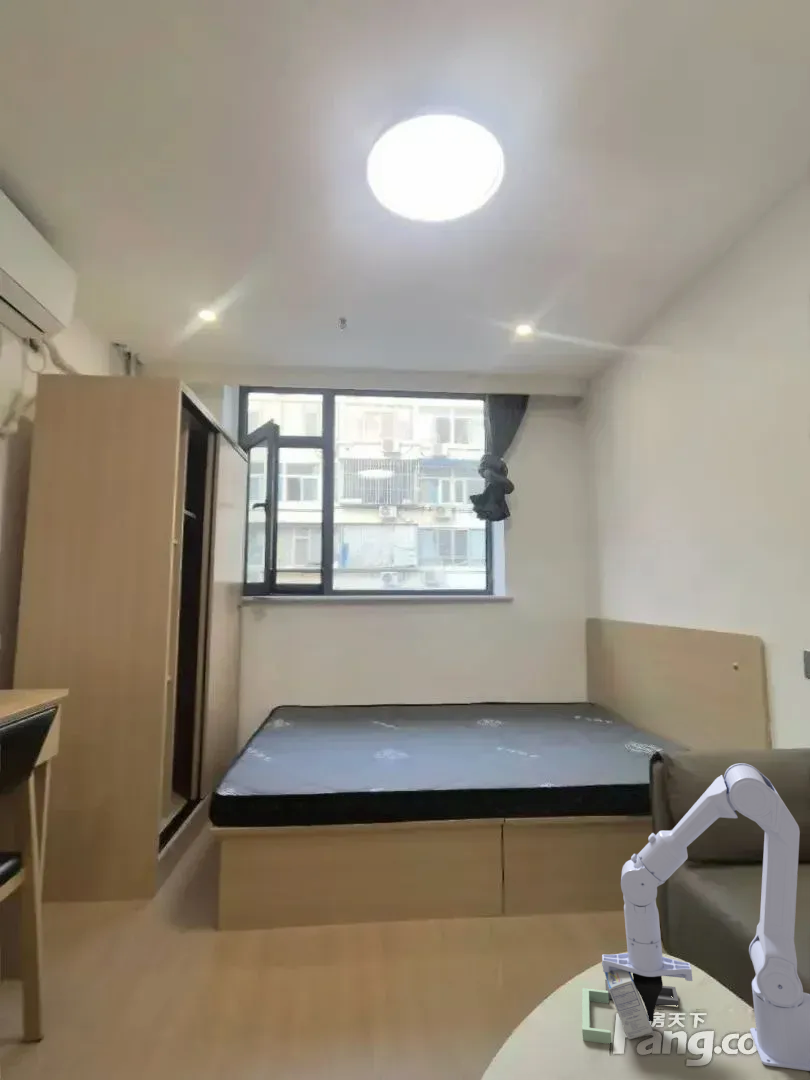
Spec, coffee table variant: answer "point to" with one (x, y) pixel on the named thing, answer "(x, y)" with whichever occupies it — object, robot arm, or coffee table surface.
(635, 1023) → the medicine box
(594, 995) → the mint green u-bracket
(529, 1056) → the coffee table surface
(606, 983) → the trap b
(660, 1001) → the grey flat rectangular tray
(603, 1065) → the coffee table surface
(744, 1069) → the coffee table surface
